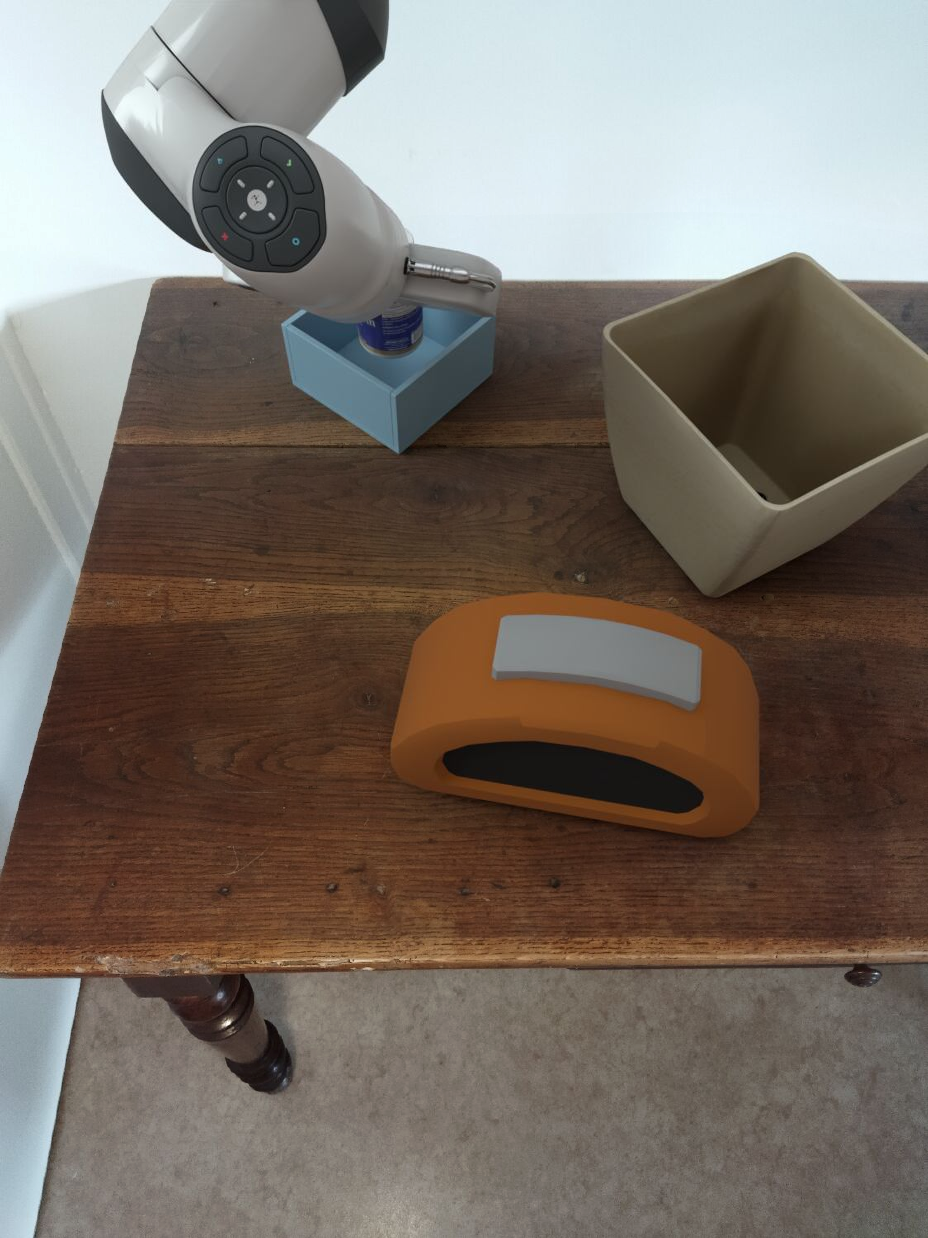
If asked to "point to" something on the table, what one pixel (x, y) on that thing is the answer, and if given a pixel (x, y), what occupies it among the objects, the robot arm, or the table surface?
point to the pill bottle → (393, 329)
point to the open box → (390, 372)
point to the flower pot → (760, 417)
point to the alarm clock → (582, 714)
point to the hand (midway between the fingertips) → (389, 283)
